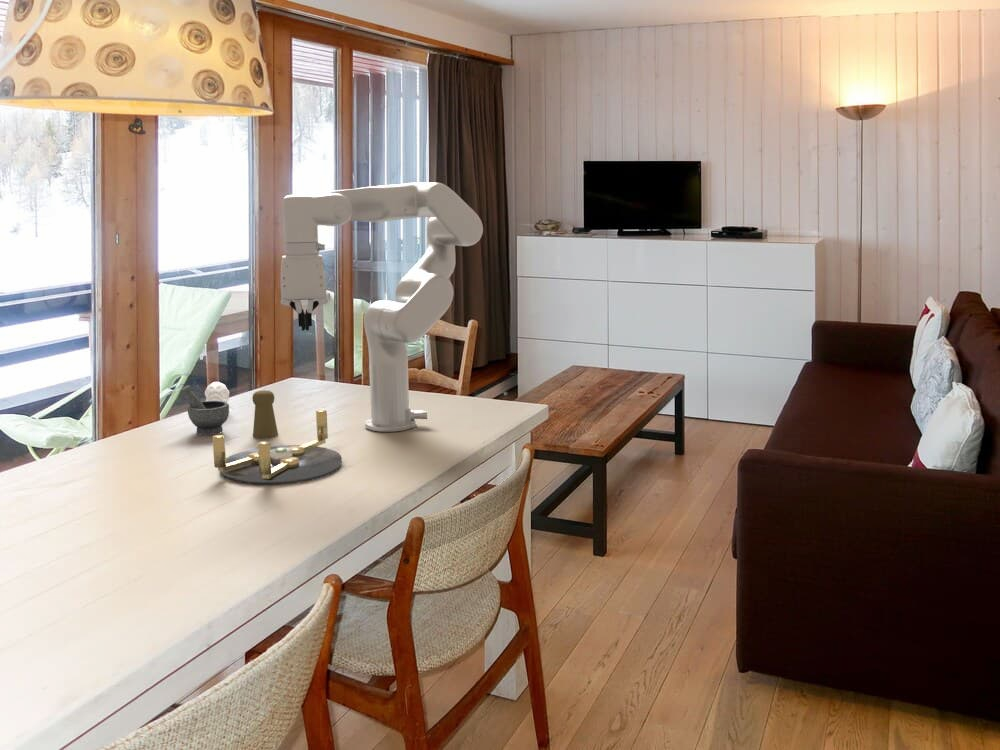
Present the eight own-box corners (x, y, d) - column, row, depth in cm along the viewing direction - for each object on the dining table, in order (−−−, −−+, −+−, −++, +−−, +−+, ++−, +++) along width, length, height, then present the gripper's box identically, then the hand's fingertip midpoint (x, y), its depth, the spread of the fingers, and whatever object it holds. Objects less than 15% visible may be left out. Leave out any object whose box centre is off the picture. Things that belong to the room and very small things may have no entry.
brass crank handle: (286, 462, 220) (284, 427, 219) (302, 463, 219) (301, 429, 218) (254, 479, 208) (251, 443, 206) (271, 481, 207) (269, 445, 205)
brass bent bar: (297, 457, 224) (295, 423, 222) (282, 455, 226) (280, 421, 224) (333, 442, 235) (331, 410, 234) (318, 440, 237) (317, 409, 235)
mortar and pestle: (231, 426, 257) (229, 380, 254) (228, 436, 248) (225, 387, 245) (185, 428, 255) (182, 381, 253) (180, 438, 246) (177, 389, 244)
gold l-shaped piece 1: (259, 456, 224) (257, 423, 223) (271, 459, 222) (269, 426, 221) (209, 471, 214) (207, 436, 213) (222, 474, 212) (219, 439, 210)
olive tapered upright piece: (272, 439, 245) (269, 394, 243) (248, 437, 246) (245, 393, 244) (282, 432, 251) (279, 388, 248) (259, 431, 252) (256, 388, 250)
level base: (347, 448, 236) (346, 432, 235) (335, 483, 210) (334, 465, 209) (233, 451, 234) (232, 435, 234) (207, 486, 209) (206, 468, 208)
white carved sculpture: (229, 379, 271) (225, 393, 260) (231, 409, 274) (227, 424, 262) (204, 380, 270) (199, 394, 259) (207, 410, 273) (202, 425, 261)
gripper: (335, 247, 237) (338, 326, 240) (269, 249, 234) (273, 328, 238) (334, 250, 229) (338, 331, 233) (266, 252, 227) (271, 333, 231)
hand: (305, 329), depth 236 cm, fingers closed
